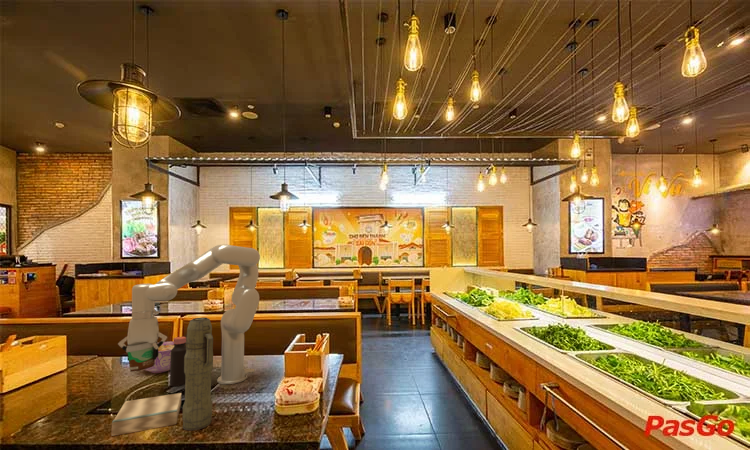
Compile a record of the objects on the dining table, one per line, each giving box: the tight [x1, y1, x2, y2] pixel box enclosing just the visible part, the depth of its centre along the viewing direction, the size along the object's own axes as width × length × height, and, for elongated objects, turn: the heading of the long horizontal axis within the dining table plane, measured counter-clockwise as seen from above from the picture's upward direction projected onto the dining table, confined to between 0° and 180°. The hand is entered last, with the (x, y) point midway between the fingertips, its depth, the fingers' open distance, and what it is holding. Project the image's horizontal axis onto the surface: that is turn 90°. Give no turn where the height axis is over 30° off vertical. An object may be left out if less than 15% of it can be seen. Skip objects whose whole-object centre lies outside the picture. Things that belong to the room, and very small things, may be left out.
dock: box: [111, 392, 182, 437], centre depth 124 cm, size 18×18×4 cm
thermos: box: [181, 317, 214, 431], centre depth 120 cm, size 9×12×35 cm
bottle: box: [169, 336, 186, 387], centre depth 157 cm, size 7×7×20 cm
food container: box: [125, 342, 155, 373], centre depth 140 cm, size 12×6×10 cm, turn 171°
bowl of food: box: [143, 341, 174, 374], centre depth 175 cm, size 20×20×12 cm
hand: (143, 360), depth 139 cm, fingers closed on food container, 7 cm apart
